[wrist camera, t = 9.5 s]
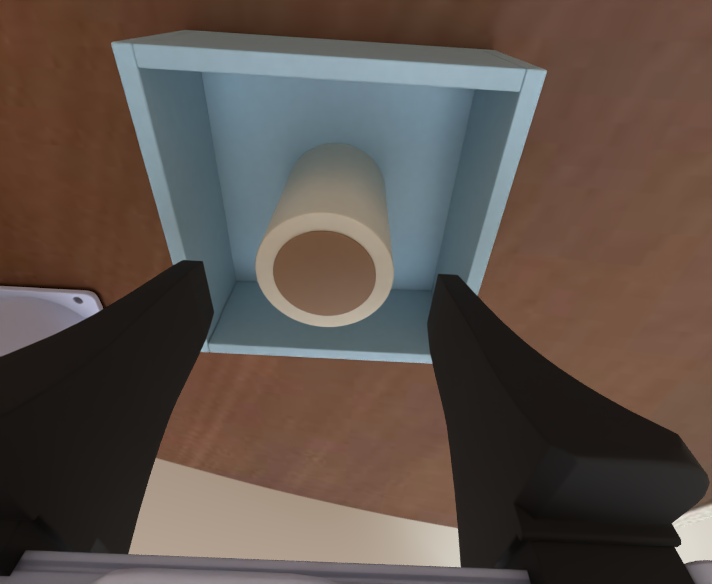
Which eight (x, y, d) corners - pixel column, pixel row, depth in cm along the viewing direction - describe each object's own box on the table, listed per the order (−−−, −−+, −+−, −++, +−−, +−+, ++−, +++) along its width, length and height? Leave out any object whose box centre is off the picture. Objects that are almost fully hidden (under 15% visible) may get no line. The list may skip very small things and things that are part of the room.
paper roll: (290, 232, 20) (261, 325, 14) (285, 139, 17) (246, 208, 11) (380, 237, 20) (386, 331, 14) (389, 145, 17) (402, 217, 11)
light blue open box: (229, 283, 22) (196, 352, 18) (183, 29, 15) (109, 41, 11) (438, 294, 23) (456, 365, 18) (495, 50, 15) (547, 69, 11)
